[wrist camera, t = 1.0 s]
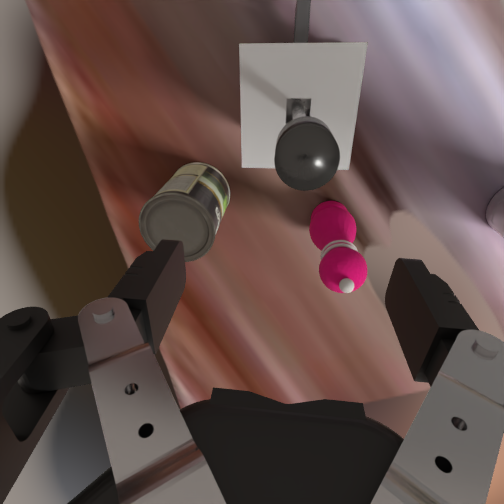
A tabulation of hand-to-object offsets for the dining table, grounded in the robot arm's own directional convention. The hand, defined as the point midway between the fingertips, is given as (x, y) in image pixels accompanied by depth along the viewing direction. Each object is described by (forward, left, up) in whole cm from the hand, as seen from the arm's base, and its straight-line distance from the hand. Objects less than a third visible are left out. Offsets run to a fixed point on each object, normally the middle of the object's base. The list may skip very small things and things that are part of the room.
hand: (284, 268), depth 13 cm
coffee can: (+14, +13, -41) cm, 46 cm away
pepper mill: (-8, +17, -41) cm, 45 cm away
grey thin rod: (-1, -2, -30) cm, 30 cm away
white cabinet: (-1, -4, -41) cm, 41 cm away
